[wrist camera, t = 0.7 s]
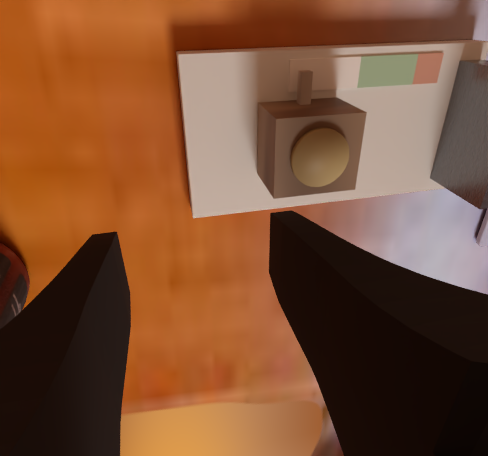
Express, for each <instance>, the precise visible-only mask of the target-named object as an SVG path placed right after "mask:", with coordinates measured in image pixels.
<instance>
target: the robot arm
mask: <svg viewBox="0 0 488 456" xmlns="http://www.w3.org/2000/svg"><path fill="white" fill-rule="evenodd" d="M476 243H477V244H478V245H480V246H481V247H485V246H488V208H487V211H486V214H485V217H484V219H483V222H482V225H481V228H480V231H479V233H478V236H477V239H476ZM269 274H270V277H271V280H272V283H273V286H274V289H275V292H276V295H277V298H278V301H279V303H280V305H281V307H282V309H283V311H284V314H285V316H286V318H287V320H288V322H289V324H290V326H291V328H292V330H293V332H294V334H295V336H296V338H297V340H298V342H299V344H300V346H301V348H302V350H303V352H304V354H305V356H306V358H307V360H308V362H309V364H310V366H311V368H312V370H313V373H314V375H315V377H316V380H317V382H318V385H319V387H320V390H321V393H322V395H323V398H324V401H325V403H326V406H327V409H328V411H329V414H330V417H331V420H332V423H333V425H334V428H335V431H336V434H337V437H338V440H339V442H340V445H341V448H342V451H343V454H344V456H488V295H487V294H483V293H480V292H476V291H472V290H469V289H465V288H462V287H458V286H455V285H452V284H449V283H446V282H442V281H439V280H436V279H433V278H430V277H427V276H424V275H421V274H419V273H416V272H413V271H411V270H408V269H406V268H403V267H401V266H398V265H396V264H393V263H391V262H388V261H386V260H384V259H382V258H379V257H377V256H375V255H373V254H371V253H369V252H367V251H365V250H363V249H361V248H359V247H357V246H355V245H353V244H351V243H349V242H347V241H346V240H344V239H342V238H340V237H338V236H336V235H335V234H333V233H331V232H329V231H328V230H326V229H324V228H322V227H321V226H319V225H317V224H316V223H314V222H312V221H310V220H309V219H307V218H305V217H303V216H301V215H300V214H298V213H296V212H294V211H284V212H276V213H271V215H270V253H269ZM130 327H131V310H130V290H129V286H128V281H127V276H126V272H125V267H124V262H123V258H122V253H121V248H120V244H119V239H118V235H117V232H110V233H102V234H93V235H92V236H91V237H90V238H89V239H88V240H87V241H86V242H85V243H84V245H83V246H82V247H81V248H80V249H79V250H78V252H77V253H76V254H75V255H74V256H73V258H72V259H71V260H70V261H69V262H68V263H67V265H66V266H65V267H64V268H63V269H62V270H61V271H60V272H59V274H58V275H57V276H56V277H55V278H54V279H53V280H52V281H51V282H50V283H49V284H48V285H47V286H46V287H45V288H44V289H43V290H42V291H41V292H40V293H39V294H38V295H37V296H36V297H35V298H34V299H33V300H32V301H31V302H30V303H29V304H28V305H27V306H26V307H25V308H24V309H23V310H22V311H21V312H20V313H19V314H18V315H16V316H15V317H14V318H13V319H12V320H11V321H10V322H9V323H7V324H6V325H5V326H4V327H3V328H1V329H0V456H120V421H121V407H122V397H123V389H124V380H125V372H126V363H127V354H128V346H129V337H130Z"/></svg>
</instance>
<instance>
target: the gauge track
mask: <svg viewBox="0 0 488 456" xmlns="http://www.w3.org/2000/svg"><path fill="white" fill-rule="evenodd" d="M487 52H488V41H479V40H454V41H428V42H403V43H377V44H351V45H325V46H299V47H274V48H248V49H222V50H196V51H176V57H177V67H178V78H179V88H180V99H181V109H182V120H183V130H184V141H185V151H186V162H187V172H188V183H189V193H190V204H191V211H192V215H193V218H199V217H207V216H216V215H224V214H233V213H241V212H250V211H258V210H266V209H275V208H283V207H292V206H300V205H309V204H317V203H325V202H334V201H342V200H351V199H359V198H368V197H376V196H384V195H393V194H401V193H410V192H418V191H427V190H435V189H443V188H445V187H443V186H441V185H440V184H438V183H437V182H435V181H433V180H432V179H430V175H431V171H432V167H433V163H434V159H435V155H436V152H437V148H438V144H439V140H440V136H441V132H442V128H443V124H444V120H445V116H446V113H447V109H448V105H449V101H450V97H451V93H452V89H453V85H454V81H455V77H456V74H457V70H458V66H459V62H460V60H479V59H481V60H485V59H486V56H487ZM299 70H310V71H312V72H313V78H312V91H311V99H319V98H334V97H337V98H339V99H341V100H343V101H345V102H347V103H349V104H351V105H353V106H355V107H357V108H359V109H361V110H363V111H365V112H367V114H366V121H365V127H364V134H363V141H362V147H361V154H360V161H359V167H358V174H357V181H356V187H355V190H347V191H338V192H330V193H321V194H312V195H303V196H294V197H286V198H277V199H273V197H272V195H271V194H270V192H269V191H268V189H267V188H266V186H265V185H264V183H263V182H262V180H261V179H260V177H259V176H258V174H257V130H258V102H273V101H289V100H297V86H298V71H299Z"/></svg>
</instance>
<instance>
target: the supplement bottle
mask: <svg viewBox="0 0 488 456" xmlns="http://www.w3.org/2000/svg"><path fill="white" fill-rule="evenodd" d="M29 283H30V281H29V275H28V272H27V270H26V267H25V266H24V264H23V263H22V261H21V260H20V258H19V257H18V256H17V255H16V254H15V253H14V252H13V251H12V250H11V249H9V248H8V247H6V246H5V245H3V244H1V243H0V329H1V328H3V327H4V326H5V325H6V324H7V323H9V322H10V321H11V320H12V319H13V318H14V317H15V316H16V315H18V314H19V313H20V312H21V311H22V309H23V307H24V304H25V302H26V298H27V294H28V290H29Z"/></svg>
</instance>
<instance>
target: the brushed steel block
mask: <svg viewBox="0 0 488 456" xmlns="http://www.w3.org/2000/svg"><path fill="white" fill-rule="evenodd" d="M430 179H432V180H433V181H435V182H437V183H438V184H440V185H441V186H443V187H445V188H446V189H448V190H450V191H451V192H453V193H454V194H456V195H458V196H459V197H461V198H462V199H464V200H466V201H467V202H469V203H470V204H472V205H474V206H475V207H477V208H479V209H485V208H488V61H486V60H481V59H479V60H460V62H459V66H458V70H457V74H456V77H455V81H454V85H453V89H452V93H451V97H450V101H449V105H448V109H447V113H446V116H445V120H444V124H443V128H442V132H441V136H440V140H439V144H438V148H437V152H436V155H435V159H434V163H433V167H432V171H431V175H430Z"/></svg>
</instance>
